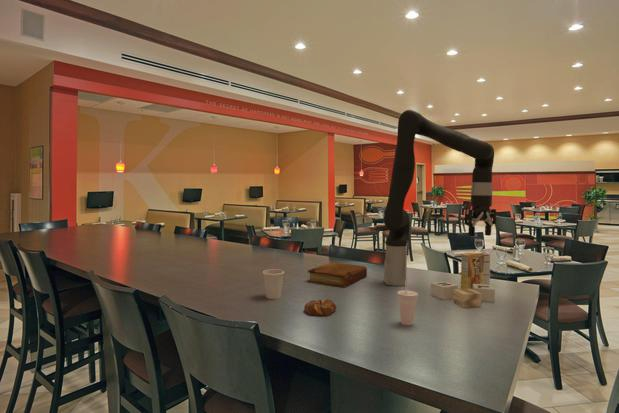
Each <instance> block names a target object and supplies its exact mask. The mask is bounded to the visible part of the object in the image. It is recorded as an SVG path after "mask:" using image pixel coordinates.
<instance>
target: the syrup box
mask: <svg viewBox="0 0 619 413" xmlns="http://www.w3.org/2000/svg"><path fill="white" fill-rule="evenodd" d="M476 252H477V253H482V254H484V265H483V285H491V253H490V252H488V251H486V250H475V251H474V252H473V253H476Z"/></svg>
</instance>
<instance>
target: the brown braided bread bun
mask: <svg viewBox="0 0 619 413" xmlns="http://www.w3.org/2000/svg"><path fill="white" fill-rule="evenodd" d="M303 307H304V311H305V313H306V314H308V315H311V316H315V317H319V316H324V317H329V316H331V315H332V314H333V313H334V312H336V310H337V305H336V304H335V303H334V301H333V300H331V299H328V298H327V299H325V300H323V299H318V300H316V299H315V300H314V299H313V300H310V301H308V302H307V303H305V305H304V306H303ZM332 312H333V313H332Z"/></svg>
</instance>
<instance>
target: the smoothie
mask: <svg viewBox="0 0 619 413" xmlns="http://www.w3.org/2000/svg"><path fill="white" fill-rule="evenodd" d="M397 297H398V306H399V307H398V308H399V315H400V324H401V325H404V324H405V325H404V326H413V325H414V320H415V312H416V306H417V301H418V300H417V299H418V298H419V293H418V292H417V291H414V290H413V291H412V290H409V289H408V279H407V278H406V279H405V285H404V290H403V289H402V290H398V291H397Z"/></svg>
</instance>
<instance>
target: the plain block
mask: <svg viewBox="0 0 619 413" xmlns="http://www.w3.org/2000/svg"><path fill="white" fill-rule="evenodd" d="M452 301H453V303H454V304H456V305H457V306H460V307H461V308H463V309H464V308H467V309H469V308H482V303H483V301H482V294H481V293H479V292H477V291H475V290H473V289H460V288H458V289H454V291H453V300H452Z"/></svg>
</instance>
